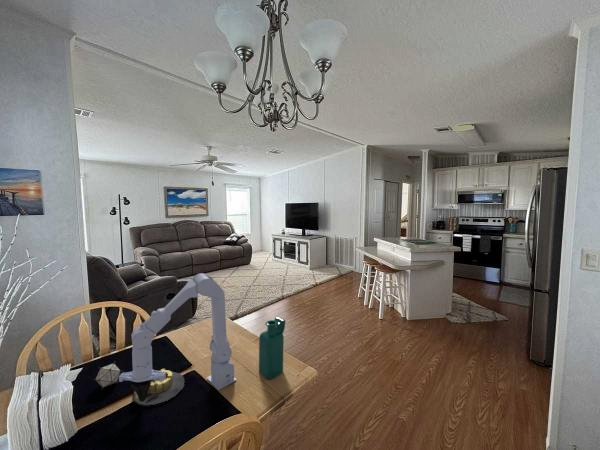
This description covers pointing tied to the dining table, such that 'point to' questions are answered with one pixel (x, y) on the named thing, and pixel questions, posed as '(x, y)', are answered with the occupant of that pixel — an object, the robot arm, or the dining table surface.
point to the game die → (108, 375)
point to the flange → (165, 395)
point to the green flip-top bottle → (272, 349)
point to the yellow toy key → (160, 384)
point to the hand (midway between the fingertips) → (143, 399)
